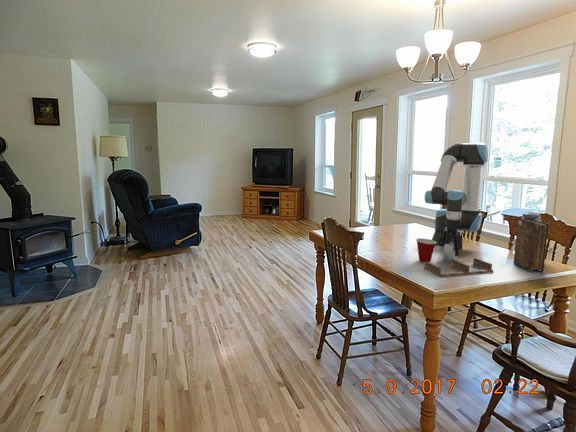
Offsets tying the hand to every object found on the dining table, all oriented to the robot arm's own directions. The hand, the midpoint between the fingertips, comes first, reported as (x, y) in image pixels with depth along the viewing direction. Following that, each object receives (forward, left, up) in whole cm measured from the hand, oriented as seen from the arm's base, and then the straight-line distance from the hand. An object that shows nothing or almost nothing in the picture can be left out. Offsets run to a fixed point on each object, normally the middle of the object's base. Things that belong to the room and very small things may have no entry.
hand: (450, 259), depth 207 cm
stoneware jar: (0, 0, -1) cm, 1 cm away
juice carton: (-44, +7, -1) cm, 45 cm away
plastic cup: (+14, -2, -1) cm, 15 cm away
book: (-30, +21, -1) cm, 37 cm away
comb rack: (+8, +16, -1) cm, 18 cm away
